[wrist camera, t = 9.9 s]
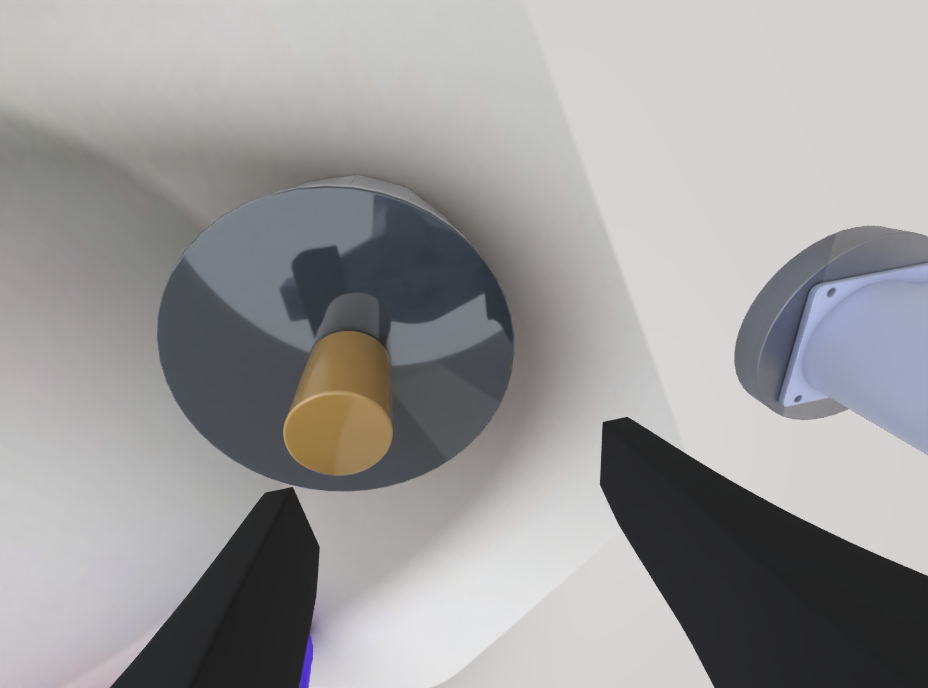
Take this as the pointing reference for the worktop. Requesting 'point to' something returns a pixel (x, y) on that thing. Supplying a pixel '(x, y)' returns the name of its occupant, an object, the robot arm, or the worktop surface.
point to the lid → (335, 338)
